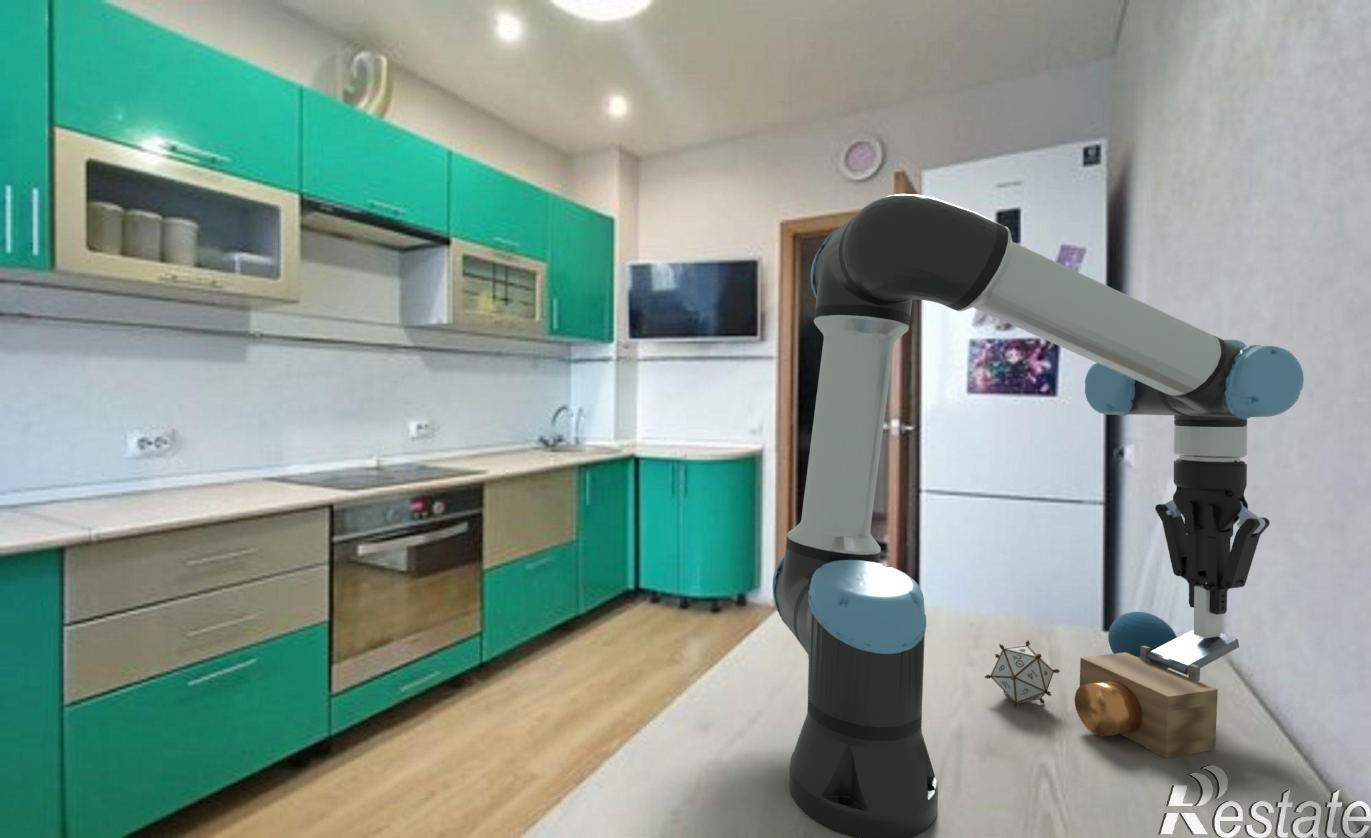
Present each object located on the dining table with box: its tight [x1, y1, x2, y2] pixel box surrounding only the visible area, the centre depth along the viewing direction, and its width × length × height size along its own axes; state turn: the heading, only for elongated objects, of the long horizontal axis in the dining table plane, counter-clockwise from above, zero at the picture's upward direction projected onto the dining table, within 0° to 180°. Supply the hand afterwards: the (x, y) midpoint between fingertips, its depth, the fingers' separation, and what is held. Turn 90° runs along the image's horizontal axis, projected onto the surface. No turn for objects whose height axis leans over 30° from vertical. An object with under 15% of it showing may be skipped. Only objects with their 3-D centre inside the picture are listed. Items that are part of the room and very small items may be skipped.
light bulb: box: [1107, 611, 1178, 670], centre depth 93 cm, size 8×8×12 cm
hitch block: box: [1079, 646, 1219, 759], centre depth 84 cm, size 8×12×9 cm
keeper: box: [1148, 628, 1240, 676], centre depth 86 cm, size 10×5×1 cm, turn 106°
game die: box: [984, 640, 1061, 710], centre depth 91 cm, size 9×8×10 cm
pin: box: [1074, 681, 1142, 737], centre depth 84 cm, size 16×6×6 cm, turn 106°
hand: (1206, 634), depth 86 cm, fingers closed
